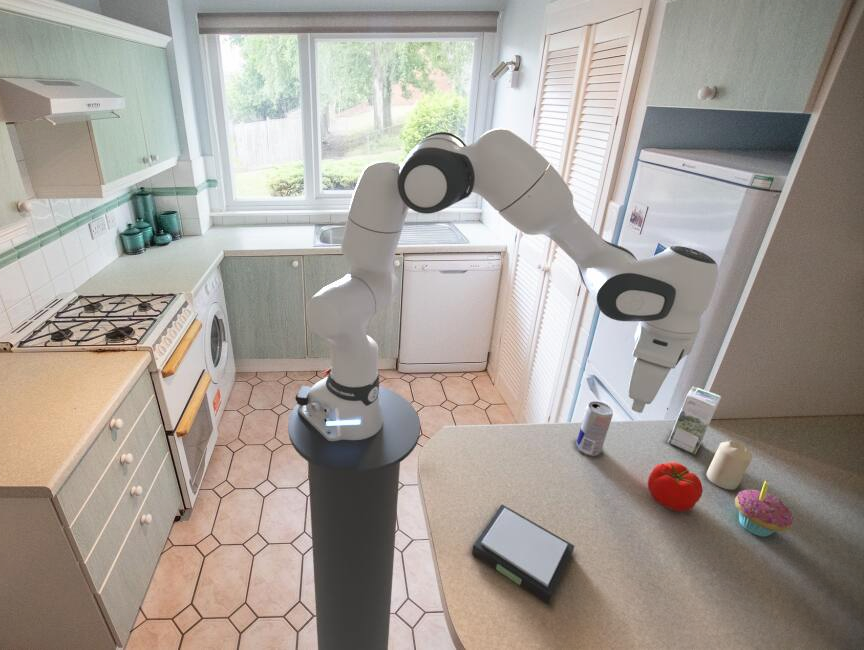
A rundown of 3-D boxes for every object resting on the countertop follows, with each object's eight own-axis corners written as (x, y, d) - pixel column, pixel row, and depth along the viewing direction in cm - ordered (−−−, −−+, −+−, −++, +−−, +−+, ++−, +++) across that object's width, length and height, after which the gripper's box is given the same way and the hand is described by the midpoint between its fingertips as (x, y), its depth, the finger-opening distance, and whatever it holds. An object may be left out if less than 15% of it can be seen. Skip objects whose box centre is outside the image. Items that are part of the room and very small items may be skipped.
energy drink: (587, 438, 111) (599, 398, 105) (605, 452, 106) (619, 412, 101) (570, 444, 109) (582, 404, 104) (588, 459, 104) (601, 418, 99)
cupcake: (742, 541, 86) (768, 495, 80) (718, 504, 93) (740, 460, 88) (793, 548, 84) (823, 502, 79) (765, 511, 92) (790, 467, 86)
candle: (739, 493, 96) (757, 458, 91) (707, 483, 98) (724, 448, 94) (735, 476, 100) (752, 441, 95) (704, 467, 102) (720, 432, 98)
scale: (470, 555, 83) (472, 544, 82) (499, 512, 91) (502, 501, 90) (547, 606, 75) (551, 595, 73) (571, 554, 83) (575, 543, 82)
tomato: (664, 478, 99) (675, 452, 96) (704, 510, 92) (717, 483, 88) (632, 489, 97) (642, 463, 93) (670, 523, 89) (682, 496, 86)
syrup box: (701, 443, 109) (722, 394, 103) (694, 456, 105) (716, 406, 99) (673, 432, 113) (693, 384, 106) (666, 443, 109) (686, 394, 103)
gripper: (655, 311, 90) (636, 369, 96) (631, 351, 77) (611, 416, 83) (693, 321, 87) (671, 381, 93) (675, 365, 73) (650, 432, 79)
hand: (642, 398), depth 88 cm, fingers open, 8 cm apart
